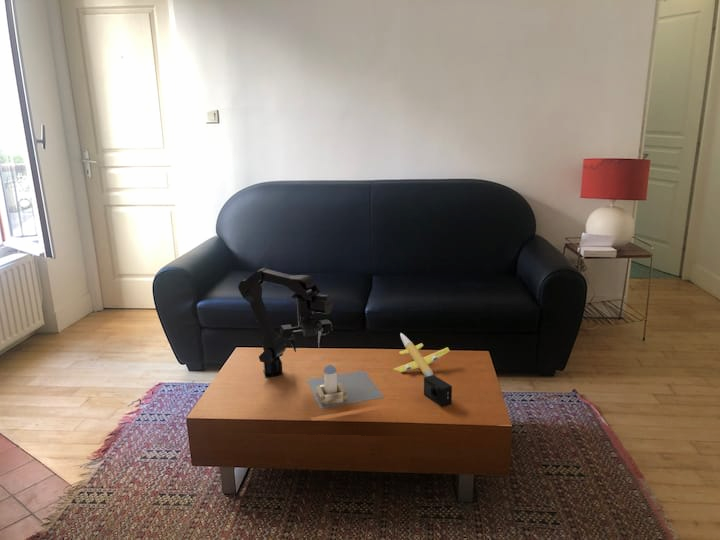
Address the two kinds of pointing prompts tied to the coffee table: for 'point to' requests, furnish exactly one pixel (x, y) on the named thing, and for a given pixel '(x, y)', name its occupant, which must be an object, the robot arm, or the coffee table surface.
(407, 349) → the toy airplane
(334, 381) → the blue-domed white cylinder
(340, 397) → the cradle
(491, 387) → the coffee table surface
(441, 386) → the digital camera
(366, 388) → the jig board
